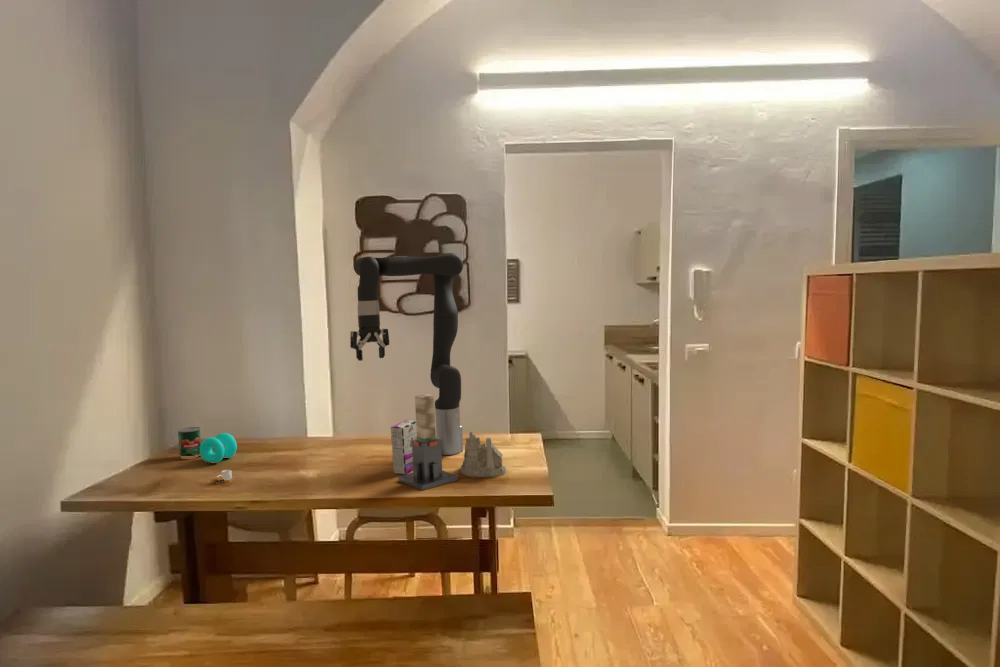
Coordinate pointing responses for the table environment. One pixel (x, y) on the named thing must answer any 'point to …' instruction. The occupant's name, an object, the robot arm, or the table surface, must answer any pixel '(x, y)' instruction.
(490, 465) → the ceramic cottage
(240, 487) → the table surface
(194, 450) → the canned tomato
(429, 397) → the post
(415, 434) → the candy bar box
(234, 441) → the donuts
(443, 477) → the stand
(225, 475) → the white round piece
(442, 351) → the robot arm
